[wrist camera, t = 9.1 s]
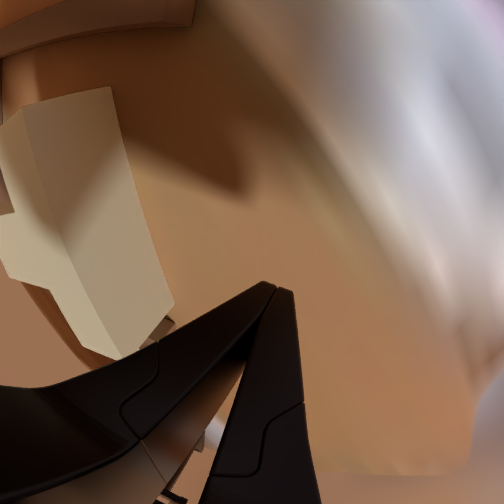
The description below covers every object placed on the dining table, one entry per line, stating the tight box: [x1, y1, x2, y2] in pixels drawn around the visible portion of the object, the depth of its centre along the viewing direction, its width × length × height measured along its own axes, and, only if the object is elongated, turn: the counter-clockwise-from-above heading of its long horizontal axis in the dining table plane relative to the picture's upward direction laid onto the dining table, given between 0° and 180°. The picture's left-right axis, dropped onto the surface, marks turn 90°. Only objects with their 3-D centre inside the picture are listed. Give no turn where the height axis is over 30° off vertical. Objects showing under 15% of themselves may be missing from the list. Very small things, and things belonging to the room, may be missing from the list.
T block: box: [0, 86, 175, 360], centre depth 12 cm, size 10×8×4 cm
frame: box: [0, 0, 196, 349], centre depth 12 cm, size 16×16×2 cm
